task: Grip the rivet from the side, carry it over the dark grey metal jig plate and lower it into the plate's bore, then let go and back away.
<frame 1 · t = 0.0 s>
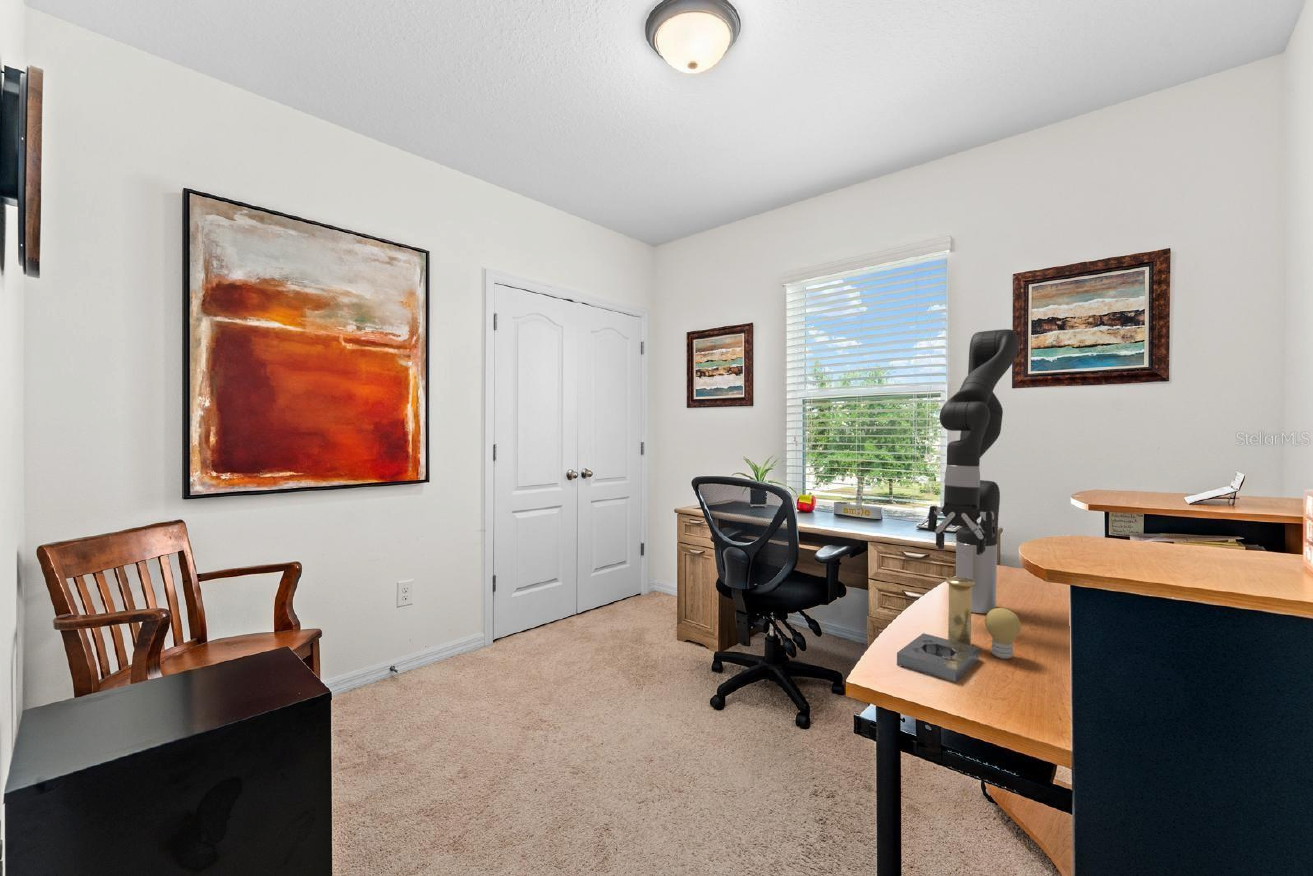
hand: (959, 551, 136), 17 cm above the table, tool pointing down, fingers open, 8 cm apart
jig: (938, 662, 115), on the table
rivet: (959, 643, 124), on the table
light bulb: (1002, 657, 118), on the table
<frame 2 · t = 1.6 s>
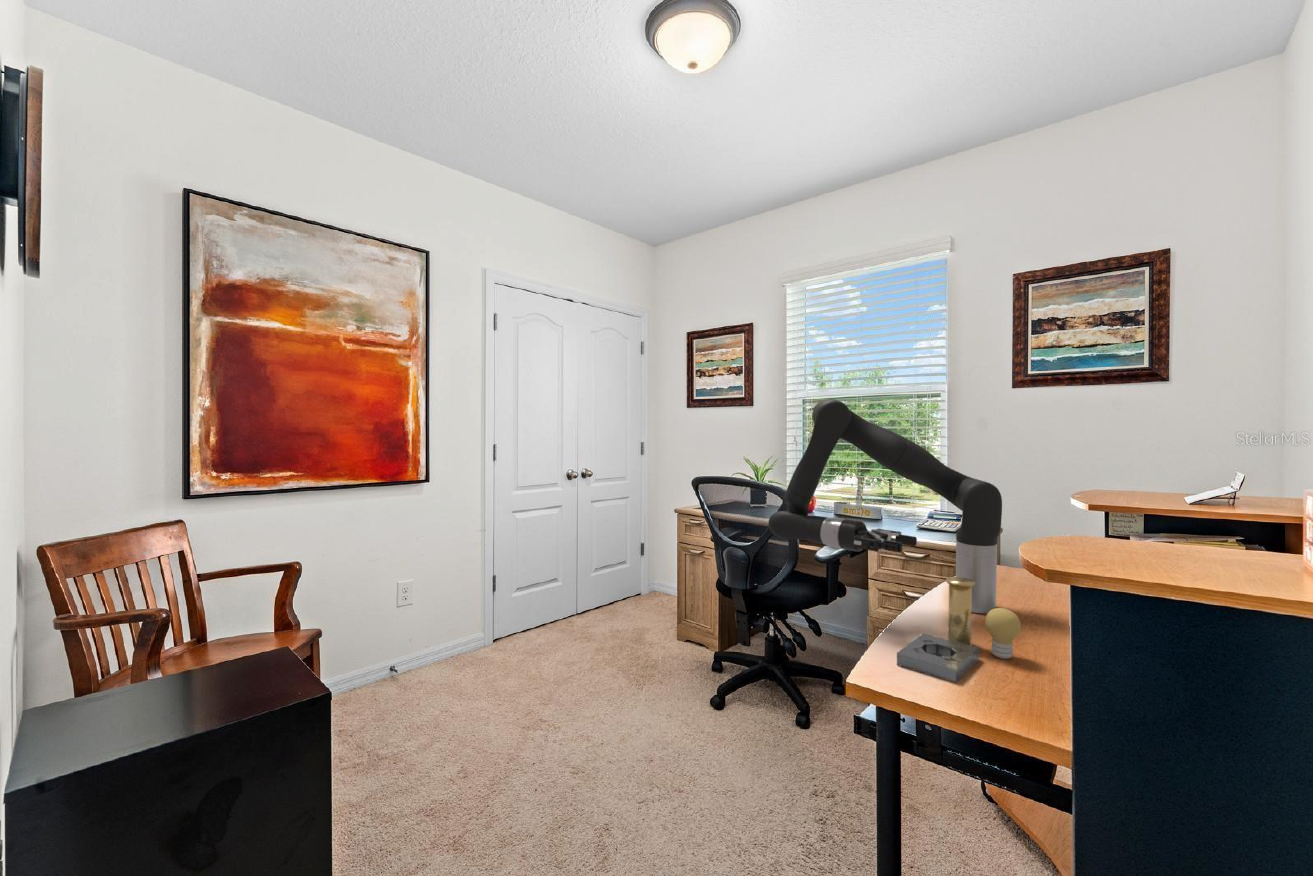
hand: (909, 544, 131), 20 cm above the table, tool horizontal, fingers open, 8 cm apart
nothing on the table moved.
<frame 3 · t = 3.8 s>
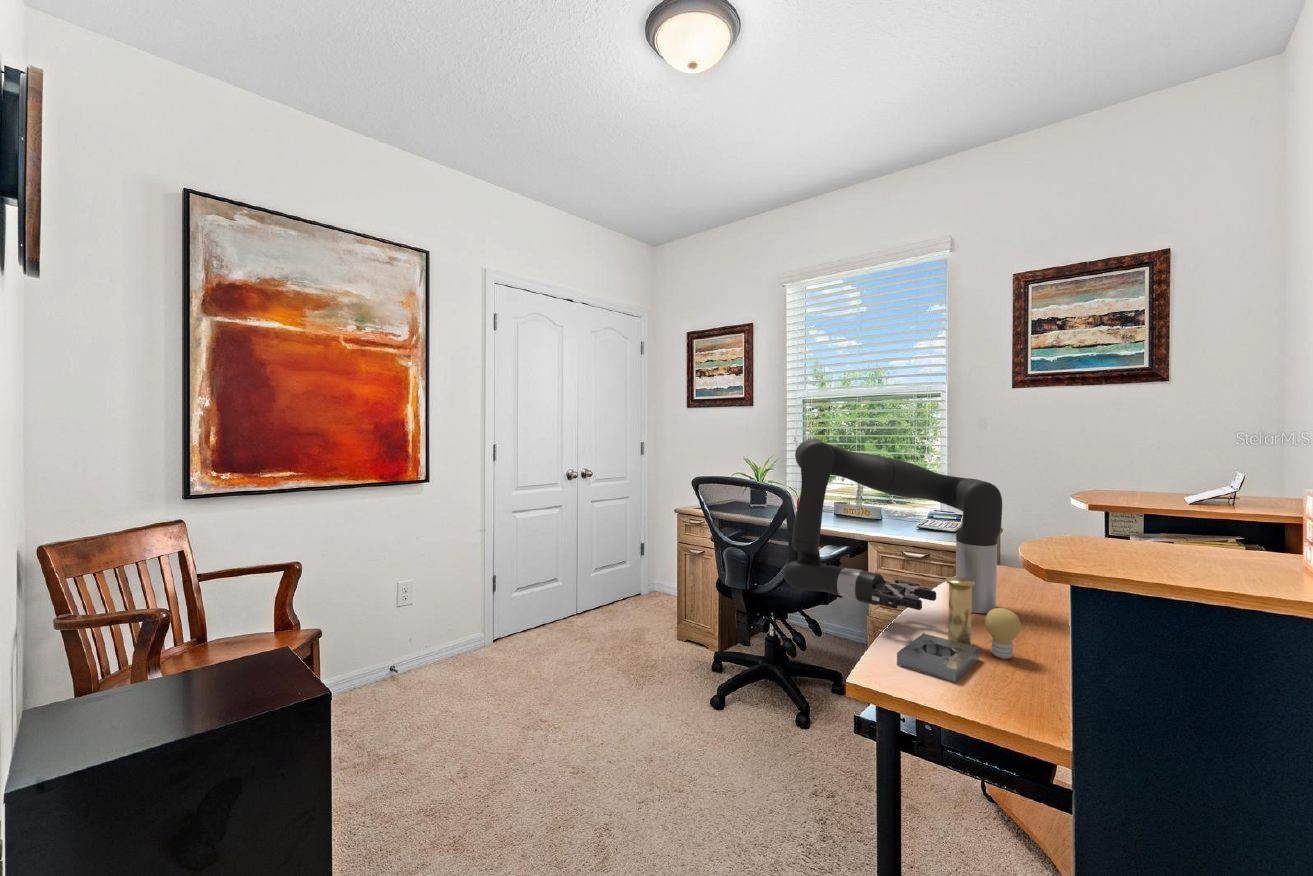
hand: (928, 600, 129), 8 cm above the table, tool horizontal, fingers open, 8 cm apart
nothing on the table moved.
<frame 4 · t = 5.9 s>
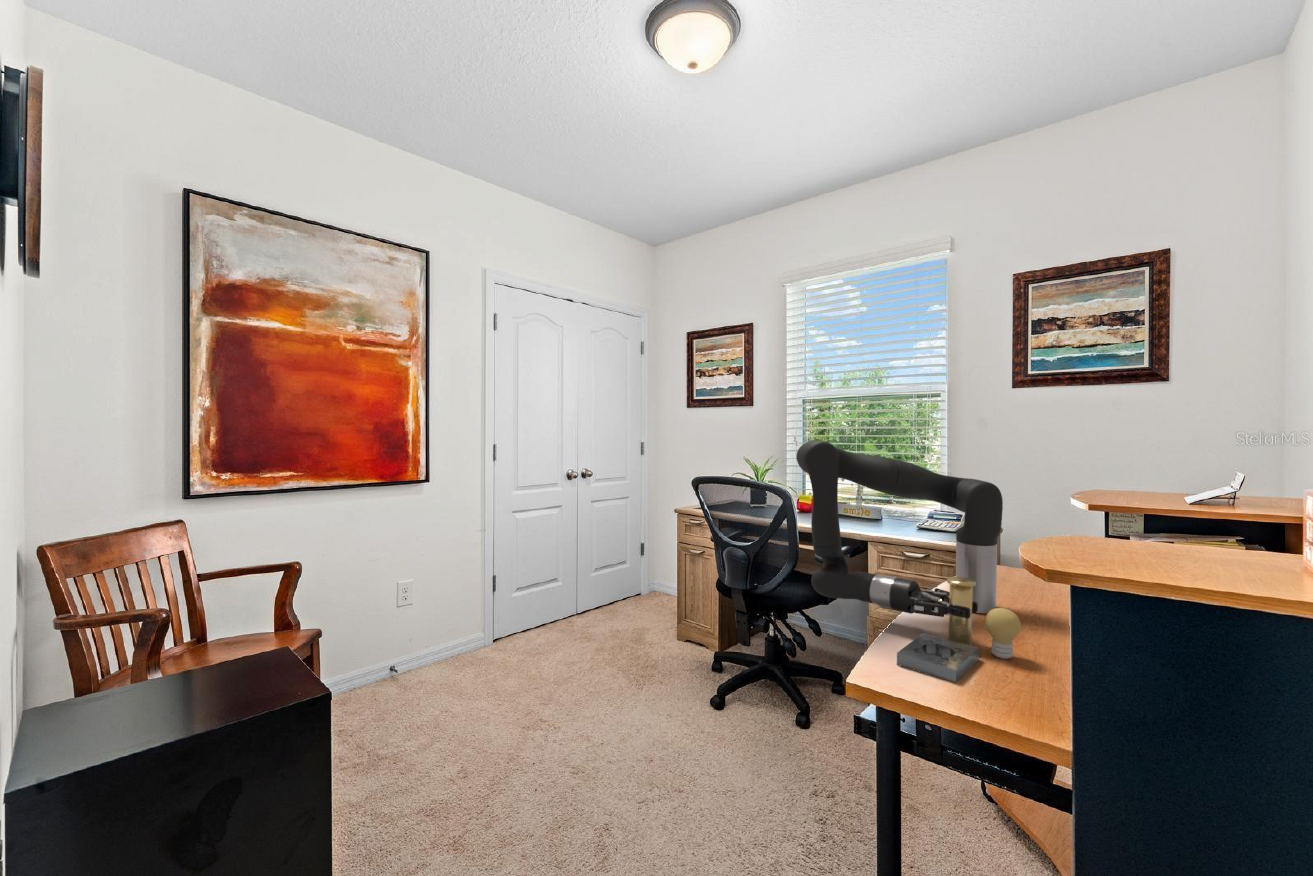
hand: (973, 610, 122), 8 cm above the table, tool horizontal, fingers closed on rivet, 4 cm apart
rivet: (959, 643, 124), on the table, touching gripper
everything else where it was.
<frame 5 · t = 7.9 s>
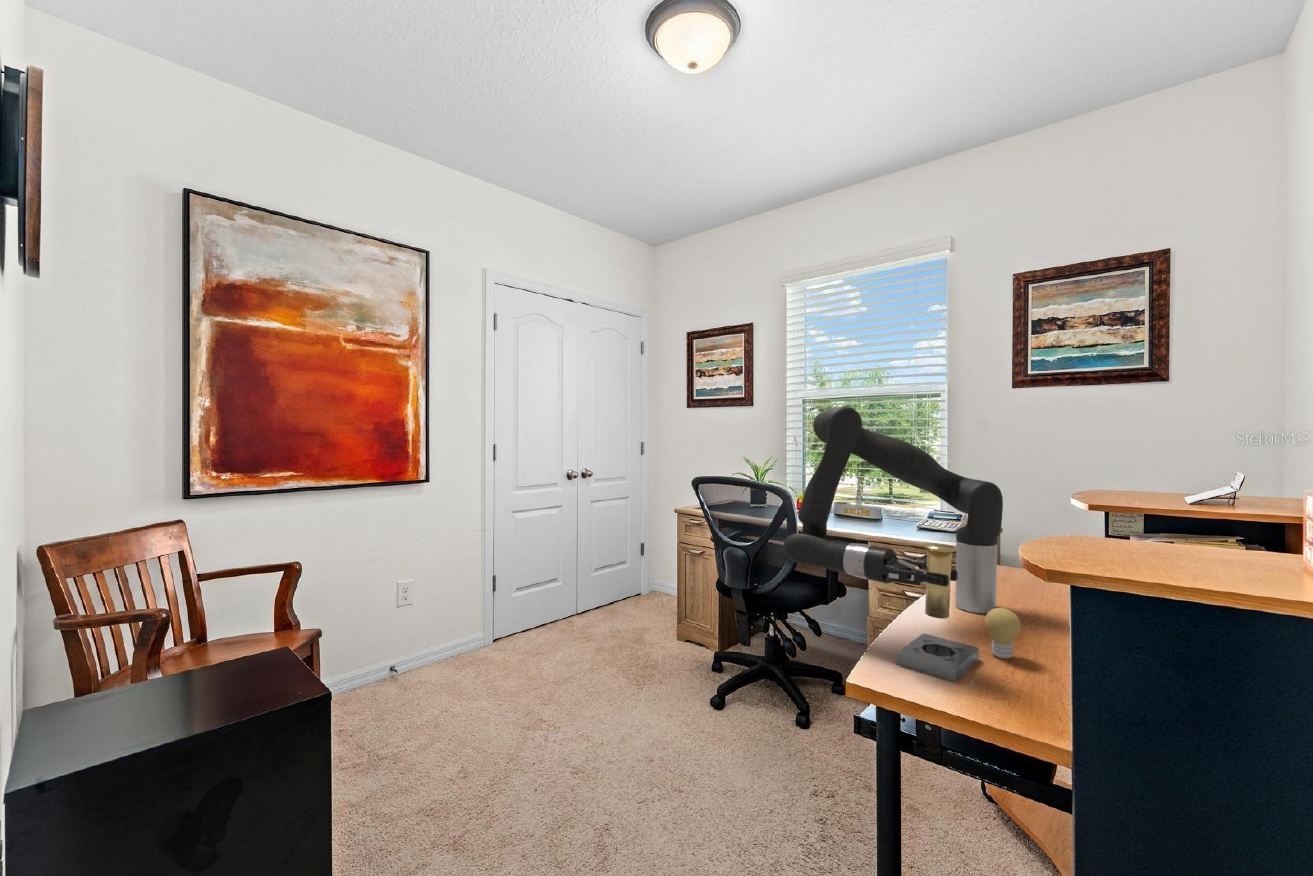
hand: (952, 578, 113), 18 cm above the table, tool horizontal, fingers closed on rivet, 4 cm apart
rivet: (937, 614, 115), point 10 cm above the table, touching gripper
everything else where it was.
when the fingers open (9 cm above the table, at t = 9.9 s): rivet stays where it is, resting in jig.
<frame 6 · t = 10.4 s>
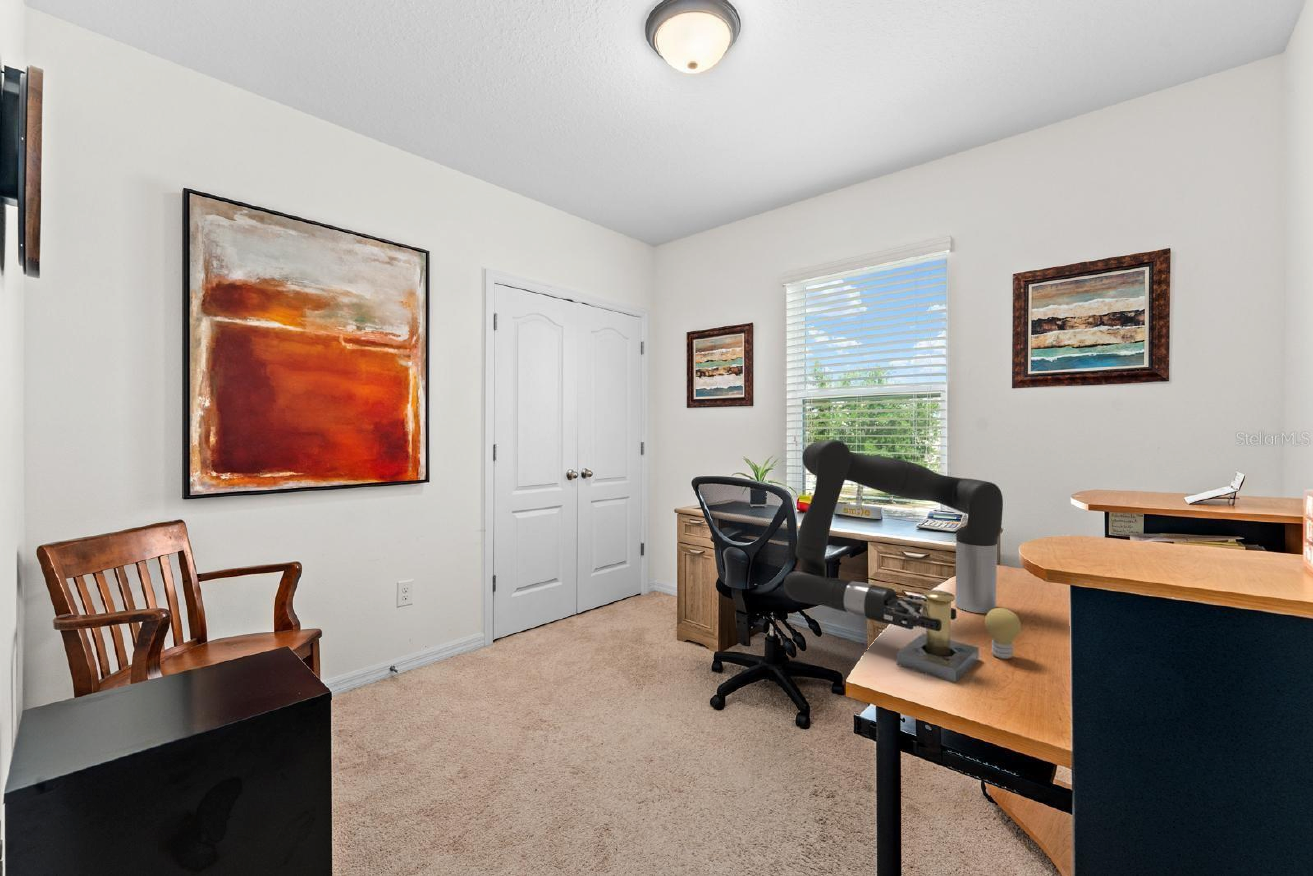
hand: (948, 620, 113), 9 cm above the table, tool horizontal, fingers open, 8 cm apart
rivet: (937, 662, 115), resting in jig
everything else where it was.
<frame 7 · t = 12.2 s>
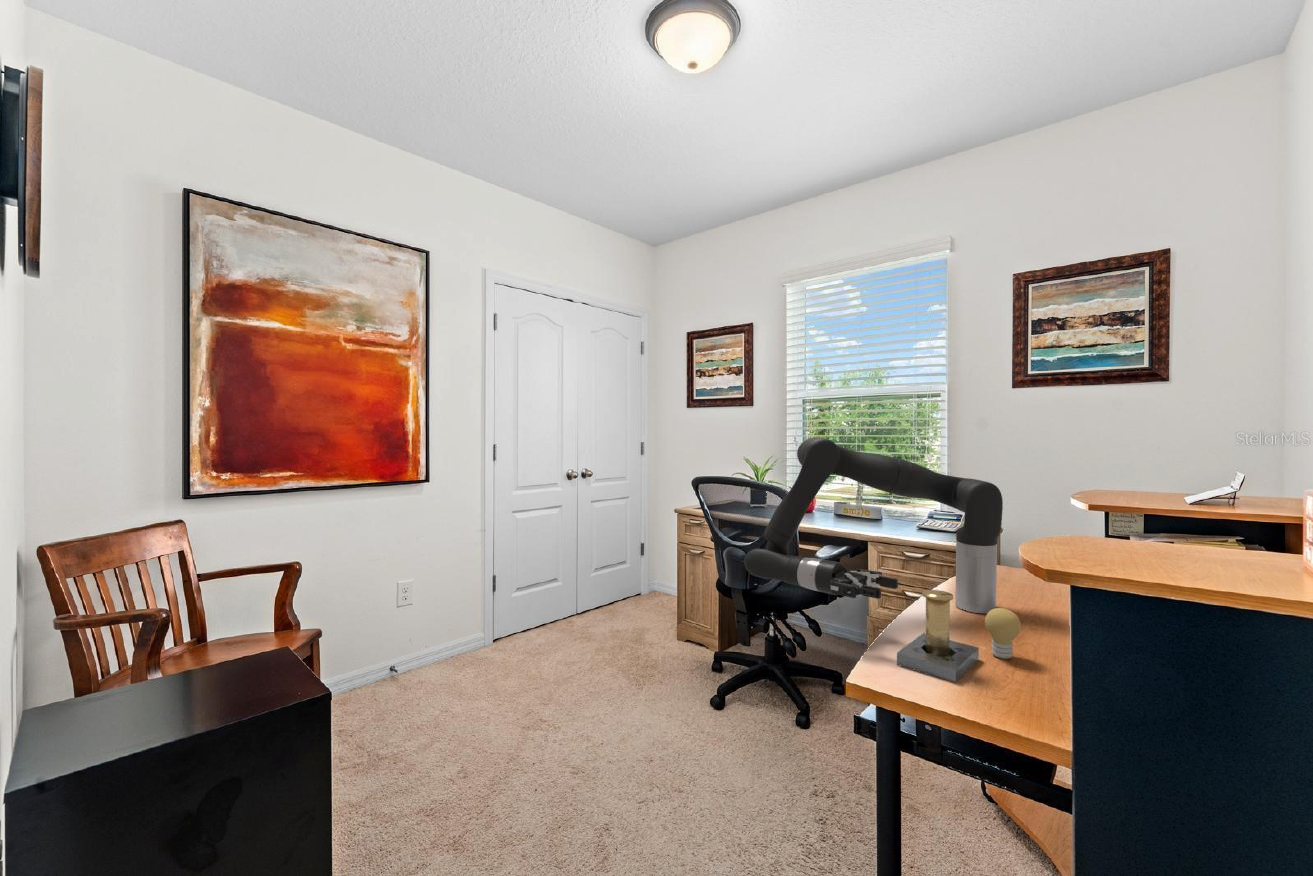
hand: (889, 588, 123), 13 cm above the table, tool horizontal, fingers open, 8 cm apart
nothing on the table moved.
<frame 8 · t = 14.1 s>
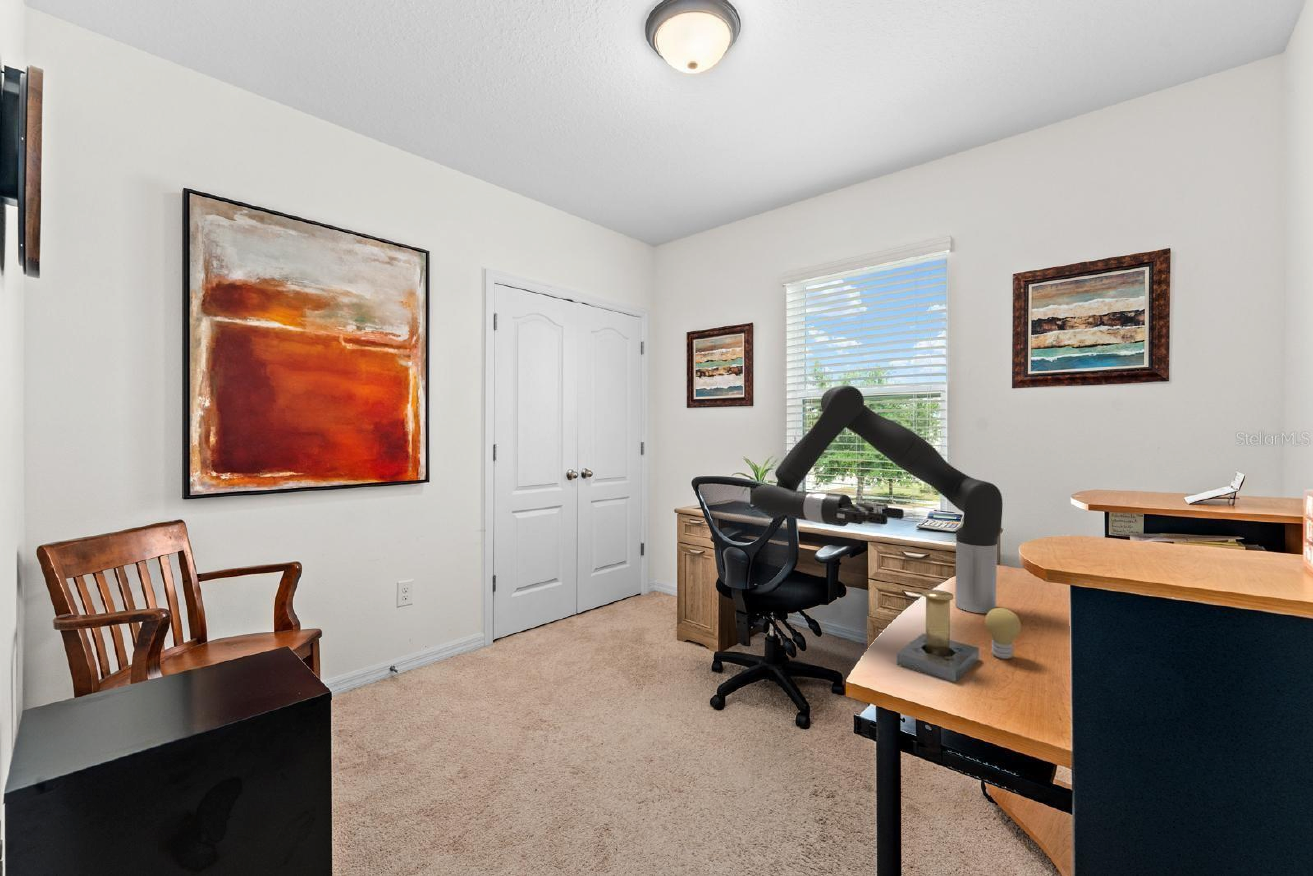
hand: (895, 516, 124), 28 cm above the table, tool horizontal, fingers open, 8 cm apart
nothing on the table moved.
at the end: rivet 0.1 cm off-centre on the jig, point 0.0 cm above the jig's base; rivet tilted 1°; the gripper is holding nothing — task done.
